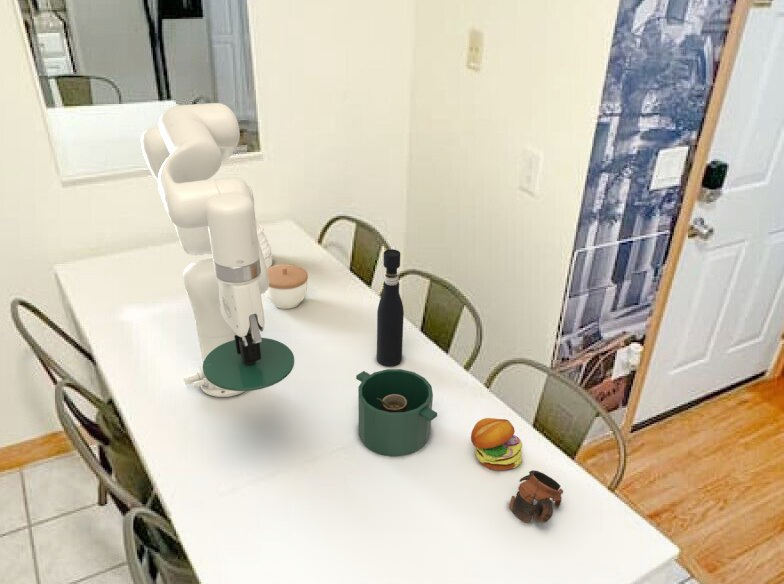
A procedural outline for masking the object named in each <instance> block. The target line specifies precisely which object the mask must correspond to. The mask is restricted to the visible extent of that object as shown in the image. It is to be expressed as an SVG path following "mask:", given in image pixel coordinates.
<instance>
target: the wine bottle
mask: <svg viewBox="0 0 784 584" xmlns="http://www.w3.org/2000/svg"><path fill="white" fill-rule="evenodd" d="M382 264H383V267H384V268H385V274H384V277H383V278H384V280H383V282H382V283H383V284H382V285H383V286H382V290H383V291H382V294H381V296H380V299H379V302H378V306H377V313H376V314H377V315H376V361H377V363H378V364H379V365H381V366H383V367H388V368H389V367H396V366H399V365H400V364H401V363H402V361H403V342H404V341H403V340H404V339H403V338H404V315H405V313H404V312H405V311H404V304H403V300H402V297H401V294H400V282H399V279H400V277H399V275H398V269H399V268H400V267H401V252H400V250H397V249H394V248H392V249H386V250H384V251H383V263H382Z"/></svg>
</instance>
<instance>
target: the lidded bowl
mask: <svg viewBox="0 0 784 584" xmlns="http://www.w3.org/2000/svg"><path fill="white" fill-rule="evenodd" d="M267 271H268V276H269V287H268V289H267V291H266V292H265V293H264V294H265V297H266V298H267V299H268V300H269V301H270V303H272V304H273V305H274V306H275V307H276V308H278V309H282V310H289V309H295V308H297V307H298V306H299V305H300V303H302V301H303V300H304V299H305V298H306V295H307V292H308V287H309V286H308V284H309V283H308V279H309V274H308V271H307V270H306V269H305V268H303V267H301V266H300V265H296V264H276V265H273V266H270V267H269V268H268V269H267Z"/></svg>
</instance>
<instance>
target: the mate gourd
mask: <svg viewBox="0 0 784 584" xmlns="http://www.w3.org/2000/svg"><path fill="white" fill-rule="evenodd" d="M377 399H378V400H379V401H381V402H382V406H381V408H380V410H382V411H387V412H407V411H408V409H407V400H406V398H405V397H403V396H402V395H398V394H391V395H388V396H386V397H384V398H383V399H382V400H381V399H379V398H377Z"/></svg>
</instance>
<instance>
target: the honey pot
mask: <svg viewBox="0 0 784 584" xmlns="http://www.w3.org/2000/svg"><path fill="white" fill-rule="evenodd" d="M256 228H257V236H258V240H259V243H260V247H261V250H262V253H263V257H264V260H265V264H266V267H267V269H268V268H270V267H272V265H273V255H272V246H271V244H270V243H269V240H268V239H267V238H268V237H267V236H266V234H265V232H264V227H263V224H260V223H259V221H258V220H256Z"/></svg>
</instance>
